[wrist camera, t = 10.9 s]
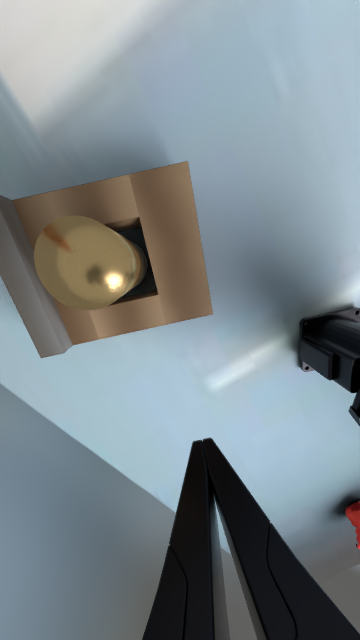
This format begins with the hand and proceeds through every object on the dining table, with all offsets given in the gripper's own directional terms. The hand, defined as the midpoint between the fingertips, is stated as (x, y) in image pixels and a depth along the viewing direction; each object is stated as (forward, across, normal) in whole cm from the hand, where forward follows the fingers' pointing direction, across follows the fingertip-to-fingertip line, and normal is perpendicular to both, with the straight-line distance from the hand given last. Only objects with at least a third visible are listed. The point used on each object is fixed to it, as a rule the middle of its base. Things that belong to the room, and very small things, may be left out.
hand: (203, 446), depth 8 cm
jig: (+12, +4, -8) cm, 16 cm away
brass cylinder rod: (+12, +4, -8) cm, 16 cm away
